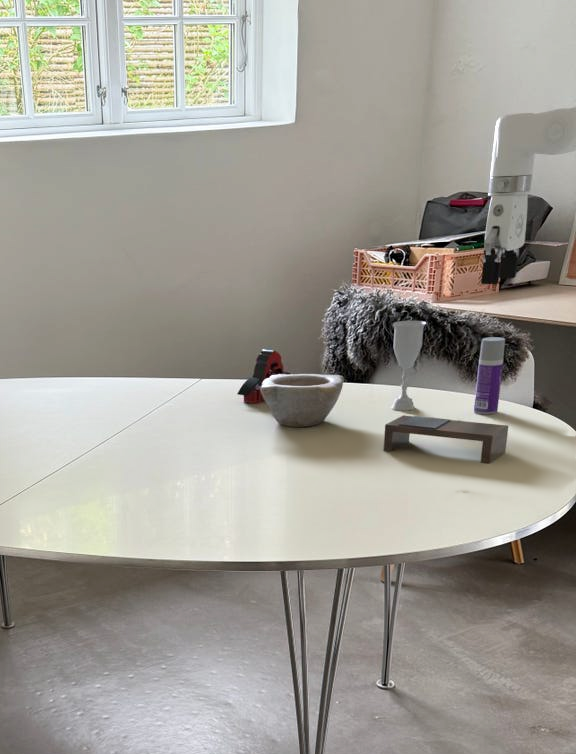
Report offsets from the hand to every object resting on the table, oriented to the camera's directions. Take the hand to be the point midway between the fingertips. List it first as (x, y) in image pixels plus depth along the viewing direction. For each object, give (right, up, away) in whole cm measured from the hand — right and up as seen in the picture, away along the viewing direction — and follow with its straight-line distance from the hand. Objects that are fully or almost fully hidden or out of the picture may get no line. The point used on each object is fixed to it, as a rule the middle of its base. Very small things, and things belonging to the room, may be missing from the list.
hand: (498, 280), depth 190 cm
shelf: (-16, -37, -13) cm, 42 cm away
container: (+2, -24, +12) cm, 27 cm away
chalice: (-13, -21, +20) cm, 32 cm away
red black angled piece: (-39, -14, +38) cm, 57 cm away
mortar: (-36, -25, +15) cm, 47 cm away
